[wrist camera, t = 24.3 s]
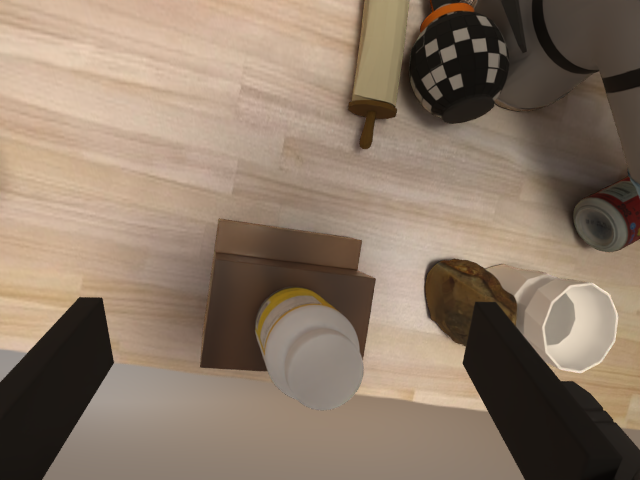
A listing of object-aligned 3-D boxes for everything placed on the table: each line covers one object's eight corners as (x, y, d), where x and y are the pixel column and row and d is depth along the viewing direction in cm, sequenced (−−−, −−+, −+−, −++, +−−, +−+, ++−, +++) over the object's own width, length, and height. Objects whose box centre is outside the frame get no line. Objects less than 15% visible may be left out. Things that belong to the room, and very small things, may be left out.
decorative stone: (534, 289, 41) (510, 291, 39) (506, 373, 44) (483, 379, 42) (454, 251, 50) (431, 251, 48) (434, 323, 52) (413, 326, 51)
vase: (500, 249, 51) (585, 261, 40) (541, 298, 53) (633, 324, 42) (452, 302, 50) (524, 331, 39) (495, 350, 52) (577, 391, 41)
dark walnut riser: (349, 237, 47) (381, 244, 38) (333, 345, 47) (360, 377, 39) (218, 218, 43) (220, 222, 35) (202, 335, 44) (200, 367, 35)
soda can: (638, 159, 55) (564, 196, 52) (701, 162, 48) (619, 204, 46) (644, 210, 57) (572, 247, 55) (704, 219, 51) (626, 262, 48)
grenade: (550, 98, 42) (514, -35, 45) (528, 64, 35) (487, -94, 37) (440, 140, 49) (415, 22, 51) (403, 119, 41) (374, -18, 44)
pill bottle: (322, 361, 38) (370, 428, 26) (248, 357, 36) (265, 426, 25) (333, 288, 37) (386, 324, 26) (259, 280, 36) (281, 315, 24)
